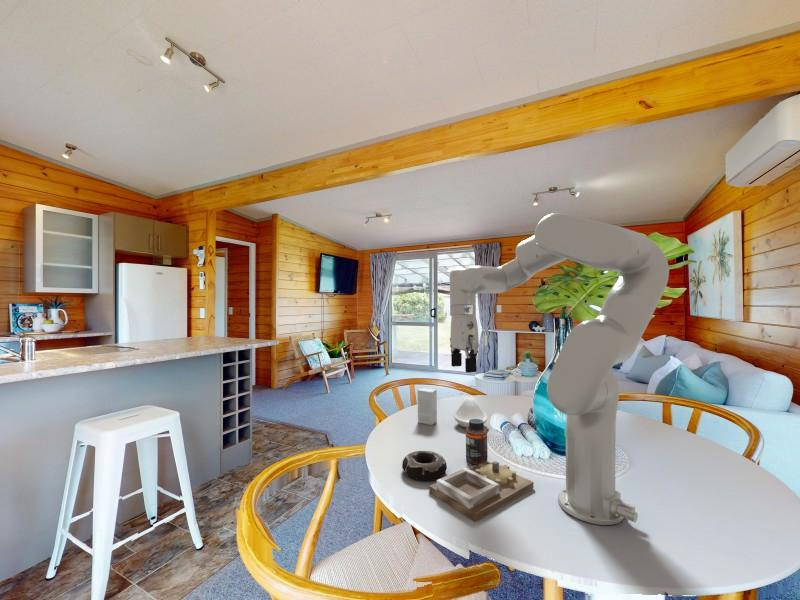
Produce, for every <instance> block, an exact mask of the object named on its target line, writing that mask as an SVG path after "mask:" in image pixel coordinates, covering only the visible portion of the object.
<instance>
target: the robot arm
mask: <svg viewBox="0 0 800 600" xmlns="http://www.w3.org/2000/svg"><path fill="white" fill-rule="evenodd" d="M567 260H569V261H572V262H575V263H579V264H582V265H584V266H587V267H590V268H593V269H595V270H601V271H605V272H606V271H607V272H615V273H616V272H617V274H618V278H617V280H616V282H615V284H613V286H612V288H611V289H610V291H609V292H608V294H607V296H606V298H605V301H604V303H603V305H602V306H601V309H600V311H599V313H598V314H597V316H596V317H595V318H592V319H588V320H584V321H582V322H580V323H578V324H577V325H575V326H574V327H573V328H572V329H571V331H570V332H569V333H568V335H567V336H566V338H565V340H564V342H563V344H562V347H561V349H560V352H559V353H558V356H557V358H556V360H555V362H554V365H553V367H552V368H551V371H550V373H549V377H548V379H547V384H546V392H547V397H548V399H549V402H550V404H551V405H552V406H553V407H554V408H555V409H556V410H557V411H558V412H561V413H562V414H565V415H566V420H565V488H564V489H563V490H561V491H560V492H559V493H558V496H557V497H558V498H557V499H558V504H559V506H560V507H561V509H563V510H564V511H565V512H566V513H567V514H569V515H570V516H572V517H574V518H576V519H578V520H580V521H583V522H586V523H589V524H594V525H598V526H599V525H600V526H611V525H612V526H613V525H617V524H619V523H621V522H622V521H623V520H624V519H625V520H627V521H628V520H629V521H631V522H633V523H637V521H638V516H639V515H638V512H637V511H636V507H635V505H632V504H629V503H626V502H624V501H623V500H622V499H621V492H620V491H618V490H616V434H617V432H616V431H617V429H616V428H617V426H616V425H617V414H618V413H617V412H618V406H619V401H620V400H619V397H620V386H619V382H618V378H617V376H616V375H615V373H614V372H613V370H612V369H613V367H614V366H615V365H618V364H622V363H624V362H626V361H627V360H629V359H630V358H631V357H632V356H633V355H634V354H635V352H636V349H637V347H638V345H639V342H640V340H641V339H642V336H643V335H644V333H645V331H646V329H647V327H648V325H649V323H650V322H651V319H652V317H653V315H654V312H655V311H656V309H657V307H658V305H659V303H660V300H661V299H662V296H663V294H664V293H665V291H666V287H667V285H668V282H669V276H670V267H669V263H668V258H667V257H666V255H665V253H664V251H663V250H662V248H661V247H660V246H659V245H658V244H657V243H656V242H655V241H653V239H652V238H649V237H648V236H647V235H644V234H643V233H641V232H638V231H635V230H631V229H629V228H625V227H622V226H619V225H615V224H610V223H607V222H601V221H597V220H593V219H588V218H584V217H580V216H575V215H573V214H569V213H566V212H554V213H553V212H551V213H550V214H547V215H546V216H544V217H543V218H541V219H540V221H539V222H537V225H536V226H535V230H534V233H533V235H532V236H531V237H530V236H529V238H527V239H525V240H522V241H521V242H520V243H518V244H517V245H516V248H515V258H514V259H512V260H510V261H508V262H506V263H504V264H502V265H501V266H498V267H497V266H496V267H495V266H486V265H485V266H484V265H474V266H470V267H467V268H456V269H452V270H451V271H450V273H449V316H450V317H451V320H450V336H449V343H450V353H451V356H450V357H451V367H453V368H455V367H461V366H462V365H463V363H462V362H463V361H462V355H463V354H462V352H461V351H464V353H465V358H464V359H465V363H464V364H465V366H464V367H465V370H464V371H465V373H470V374H471V373H477V372H478V371H477V369H478V368H477V367H478V366H477V358H478V353H479V347H480V344H479V339H480V338H479V327H478V320H477V296H476V295H477V294H502V293H504V292H508V291H510V290H512V289H515V288H517V287H519V286H522V284H524V283H527V282H528V281H529V280H530V279H531V278H532V277H533V276H535V274H537V273H539V272H542V271H544V270H546V269H548V268H550V267H552V266H554V265H555V266H556V265H557V264H559V263H561V262H564V261H567Z"/></svg>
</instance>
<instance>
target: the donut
mask: <svg viewBox="0 0 800 600" xmlns="http://www.w3.org/2000/svg"><path fill="white" fill-rule="evenodd" d="M401 463H402V464H401V465H402V466H401V468H402V470H403V472H404V474H405V475H406V476H407V477H409V478H411V479H413V480H416V481H420V482H431V481H435V480H436V481H437V480H438V479H441V478H443V477H444V475H445V474H446V472H447V462H446V459H445V458H444V457H443V456H442V455H441V454H439V453H437V452H435V451H430V450H416V451H413V452H410V453H408V454H407V455H405V457H404V458H403V460H402V462H401Z"/></svg>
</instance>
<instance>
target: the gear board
mask: <svg viewBox="0 0 800 600" xmlns="http://www.w3.org/2000/svg"><path fill="white" fill-rule="evenodd" d="M428 489H429V491H428V492H429V493H430V494H432V495H433V496H434V497H436V498H437V499H439V500H440V501H442V502H444V503H446V504H447V505H448V506H450V507H451V508H452V509H454V510H456V511H458V512H459V513H461V514H462V515H463V516H466V517H467V518H469V519H471V520H472V521H474V522H475V523H476V522H477V521H479V520H481V519H483V518H484V517H486V516H488V515H490V514H492V513H493V512H495V511H497V510H498V509H500V508H503V506H505V505H507V504H509V503H510V502H512V501H514V500H515V499H518V498H520V497H522V495H524V494H525V495H526V493H528V492H530V491H531V490H533V489H534V481H533V480H532V481H531V480H530V479H528V478H525V477H523V476H521V475H519V474H517V472H516V471H512V470H511V469H510V465H509V466H508V465H506V464H505V465H502V464H500V463H499V462H497V461H493V462H489V461H488V460H487V461H486V462H484V463H481V464H479V465H474V466H472V467H470V468H468V467H464V468H463V469H460V470H458V471H455V472H453V473H450V474H448V475H446V476H442V477H440V478H438V479H436V482H435V483H433V484H431V485H429V486H428Z"/></svg>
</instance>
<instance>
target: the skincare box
mask: <svg viewBox="0 0 800 600" xmlns="http://www.w3.org/2000/svg"><path fill="white" fill-rule="evenodd" d="M437 391H438V390H437V389H432V388H425V387H422V388H419V389H418V390H417V423H419V424H425V425H430V426H433V425H434V424H436V423H437V422H438V418H437V417H438V416H437V415H438V408H437V407H438V406H437V405H438V404H437V403H438V401H437V400H438V399H437V397H438V396H437V394H438V393H437Z"/></svg>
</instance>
